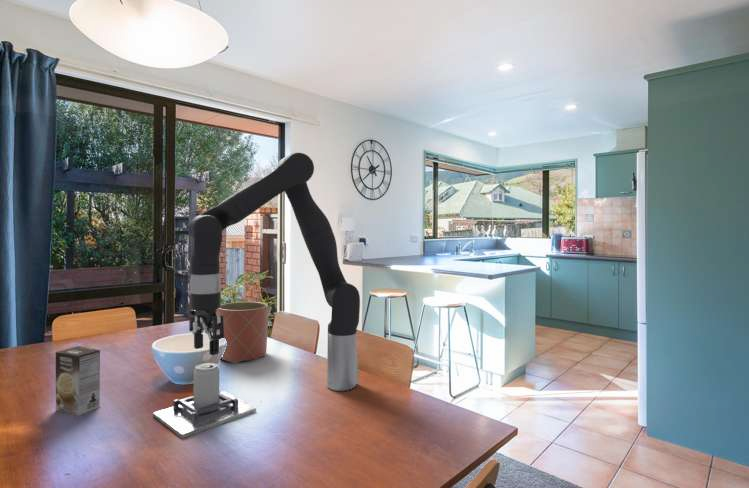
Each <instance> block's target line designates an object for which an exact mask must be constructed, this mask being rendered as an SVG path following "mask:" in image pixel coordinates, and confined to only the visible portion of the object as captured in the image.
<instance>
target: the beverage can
mask: <svg viewBox="0 0 749 488" xmlns="http://www.w3.org/2000/svg"><path fill="white" fill-rule="evenodd" d="M218 365H219V364H217V363H216V362H215V363H214V362H206V363H205V362H204V363H200V364H197V365H195V367H194V371H193V396H194V407H196V408H197V409H200V408H203V407H206V406H209V405H212V404H215V403H218V402H219V392H220V368H219V367H218ZM214 410H216V409H214ZM214 410H211V411H214ZM211 411H208V412H211ZM208 412H205V413H208ZM205 413H202V414H205Z"/></svg>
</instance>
